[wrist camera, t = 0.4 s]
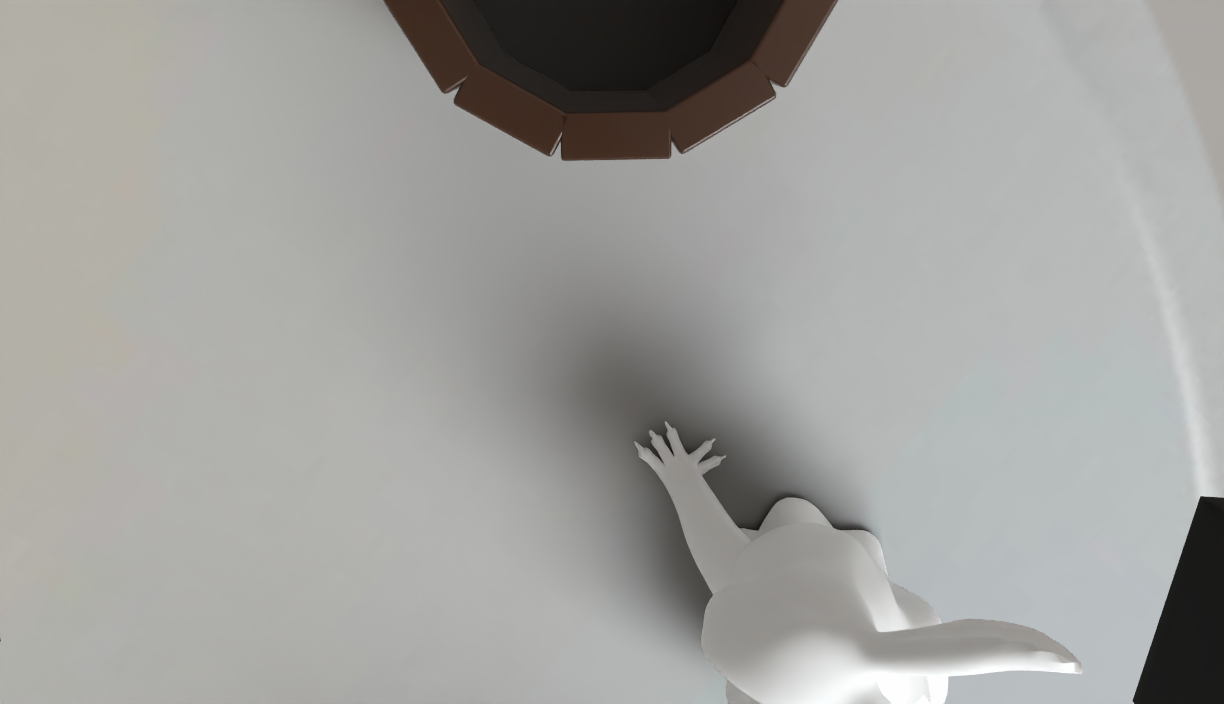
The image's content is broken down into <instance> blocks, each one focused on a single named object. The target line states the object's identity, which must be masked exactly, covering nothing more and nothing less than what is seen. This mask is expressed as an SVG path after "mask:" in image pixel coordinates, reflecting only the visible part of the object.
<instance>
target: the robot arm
mask: <svg viewBox="0 0 1224 704" xmlns="http://www.w3.org/2000/svg"><path fill="white" fill-rule="evenodd" d="M0 641H1V640H0ZM1133 702H1134V703H1135V704H1224V498H1217V497H1202V496H1200V499H1199V503H1198V506H1197V509H1196V512H1195V515H1194V518H1193V521H1192V524H1191V527H1190V530H1189V533H1188V536H1187V539H1186V542H1185V545H1184V548H1183V551H1182V554H1181V557H1180V560H1179V563H1178V566H1177V569H1176V572H1175V575H1174V578H1173V581H1172V584H1171V587H1170V590H1169V593H1168V596H1167V599H1166V602H1165V605H1164V608H1163V611H1162V614H1161V617H1160V620H1159V623H1158V626H1157V629H1156V632H1155V635H1154V638H1153V641H1152V644H1151V647H1150V650H1149V653H1148V656H1147V659H1146V662H1145V665H1144V668H1143V671H1142V674H1141V677H1140V680H1139V683H1138V686H1137V689H1136V692H1135V695H1134V698H1133Z"/></svg>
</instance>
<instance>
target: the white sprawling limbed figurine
mask: <svg viewBox="0 0 1224 704" xmlns="http://www.w3.org/2000/svg"><path fill="white" fill-rule="evenodd" d="M664 423H665V426H666V428H667V429H668V431H667V437H668V439H669V441H670V444H671V447H672V450H673V453H674V456H673V454H672V453H671V451H670V450H669V448H668V447H667V445H666V444H665V442H664V440H663V438H662V436H661V435H656V434H655V433H654V432H653V431H652V430H650V431H649V433H650V436H651V438H652V440H651V443H652V445H653V446H654V447H655V448H656V450H657V451H658V453H659V455H660V457H661V459H662V460H663V462H664V463H663V462H662V461H661V460H660V459H659V458H658V457H656V456H655V455H654V454H653V453H652V452H651V450H650V449H648V448H647V447H645V448H643V447H642V446H641V445H640V444H639V443H637V442H635V445H636V447H637V449H638V451H639V453H638V454H639V457H640V458H641V459H643V460H644V461H646V462H647V463H648V464H649V465H650V466H651V467H652V469H653V470H654V471H655V472H656V473H657V474H658V476H659V477H660V479H661V480H662V482H663V483H664V485H665V487H666V488H667V490H668V492H669V494H670V496H671V498H672V500H673V503H674V505H675V508H676V510H677V513H678V516H679V519H680V522H681V526H682V529H683V532H684V535H685V538H686V541H687V544H688V546H689V549H690V551H691V553H692V556H693V558H694V560H695V562H696V564H697V566H698V568H699V570H700V572H701V574H702V576H703V577H704V579H705V581H706V583H707V585H708V587H709V588H710V590H711V592H712V594H713V596H712V597H711V599H710V600H709V602H708V604H707V607H706V610H705V615H704V622H703V630H702V635H701V647H702V650H703V652H704V654H705V656H706V657H707V659H708V661H709V662H710V663H711V664H712V665H713V666H714V667H715V668H716V669H717V670H718V671H719V672H720V673H721V674H722V675H723V676H724V677H725V678H726V679H727V684H726V697H727V701H728V704H944V702H945V699H946V696H947V689H948V677H949V676H960V675H973V674H982V673H991V672H1000V671H1010V670H1034V671H1049V672H1059V673H1083V670H1082V665H1081V662H1080V661H1079V660H1078V659H1077V658H1076V657H1075V656H1074V655H1073V654H1072V653H1071V652H1070V651H1069V650H1067V649H1066V648H1065V647H1064V646H1063V645H1061V644H1060V643H1059V642H1057V641H1055V640H1053V639H1052V638H1050V637H1048V636H1047V635H1045V634H1044V633H1042V632H1040V631H1037V630H1035V629H1033V628H1029V627H1026V626H1023V625H1018V624H1013V623H1008V622H1002V621H994V620H983V619H964V620H957V621H952V622H948V623H943V624H942V623H941V621H940V619H939V616H938V615H937V613H936V612H935V610H934V609H933V608H932V606H931V605H930V604H929V603H928V602H926V601H925V600H924V599H922V598H921V597H919V596H917V595H916V594H914V593H912V592H910V591H909V590H907V589H905V588H903V587H901V586H899V585H897V584H895V583H894V582H892V581H891V580H890V578H889V575H888V573H887V569H886V564H885V560H884V556H883V552H882V548H881V545H880V543H879V541H878V539H877V538H876V537H875V536H874V535H872V534H871V533H870V532H868V531H863V530H837V529H835V528H833V527H832V525H831V524H830V523H829V522H828V520H827V519H826V518H825V516H824V515H823V514H822V513H821V512H820V511H819V510H818V509H817V508H816V507H815V506H814V505H813V504H811V503H810V502H808V501H806V500H804V499H799V498H789V497H788V498H785V499H782V500H780V501H778V502H777V503H776V504H775V505H774V506H773V508H772V509H771V510H770V512H769V513H768V515H767V516H766V518H765V519H764V521H763V523H762V525H761V527H760V529H759V530H758V531H755V530H750V529H744V528H738V527H737V525H736V524H735V523H734V522H733V520H732V519H731V518H730V516H729V515H728V514H727V512H726V511H725V509H724V508H723V507H722V505H721V504H720V502H719V501H718V499H717V498H716V496H715V495H714V493H713V492H712V490H711V489H710V487H709V486H708V484H707V483H706V481H705V480H704V478H703V477H702V476H703V475H704V474H705V473H706V472H707V471H709V470H710V469H712V468H714V467H716V466H718V465H719V464H720V462H721V460H723V459H724V458H726V455H725V456H721V457H718V456H713V457H711V458H709V459H707V460H705V461H701V462H699V461H700V460H701V458H702V457H703V456H704V455H705V454H706V453H707V452H708V451H710V449H711V448H712V443H713V442H714V441H715V439H716V438H714V439H712V440H710V441H705V442H704V443H703V444H702V445H701V446H700V447H699V448H698V449H697V450H695V451H694V452H692V453H691V454H687V453H686V452H685V450H684V448H683V445H682V443H681V441H680V439H679V437H678V433H677V430H676V429H675V428H671V427H670V425H669V424H668V423H667V422H666V421H665V422H664Z"/></svg>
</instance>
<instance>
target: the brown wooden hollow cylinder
mask: <svg viewBox="0 0 1224 704" xmlns="http://www.w3.org/2000/svg"><path fill="white" fill-rule="evenodd" d="M383 1H384V3H385V4H386V6H387V7H388V9H389V10H390V12H391V14H392V15H393V17H394V18H395V20H396V21H397V23H398V25H399V26H400V28H401V29H402V31H403V32H404V34H405V35H406V37H407V39H408V40H409V42H410V43H411V45H412V46H413V48H414V50H415V51H416V53H417V54H418V56H419V57H420V59H421V60H422V62H423V64H424V65H425V67H426V68H427V70H428V71H429V73H430V75H431V76H432V78H433V79H434V81H435V82H436V84H437V86H438V87H439V89H440V90H441V92H443V93H444V94H446V93H449V92H451V91H453V90H455V89H458V88H459V90H458V92H457V94H456V96H455V98H454V104H455V105H456V106H458V107H460V108H461V109H463V110H465V111H467V112H469V113H471V114H472V115H474V116H476V117H478V118H480V119H481V120H483V121H485V122H487V123H489V124H490V125H492V126H494V127H496V128H498V129H500V130H501V131H503V132H505V133H507V134H509V135H510V136H512V137H514V138H516V139H518V140H519V141H521V142H523V143H525V144H527V145H528V146H530V147H532V148H534V149H536V150H538V151H539V152H541V153H543V154H545V155H547V156H552V155H553V154H554V152H555V150H556V148H557V147H558V145H559V143H560V141H561V158H562V160H564V161H578V160H628V159H669V158H670V157H671V142H672V143H673V144H674V146H675V147H676V149H677V150H678V151H679V152H680V153H681V154H684V153H686V152H688V151H689V150H691V149H693V148H694V147H696V146H698V145H699V144H701V143H703V142H704V141H706V140H708V139H709V138H711V137H713V136H714V135H716V134H718V133H719V132H721V131H723V130H724V129H726V128H728V127H729V126H731V125H733V124H734V123H736V122H738V121H739V120H741V119H743V118H744V117H746V116H747V115H749V114H751V113H752V112H754V111H756V110H757V109H759V108H761V107H762V106H764V105H766V104H767V103H769V102H771V101H772V100H774V99H775V98H776V92H775V91H774V89H773V87H772V85H771V84H774V85H777V86H780V87H786V86H788V84H789V83H790V81H791V79H792V78H793V76H794V74H795V73H796V71H797V69H798V68H799V66H800V64H801V62H802V61H803V59H804V57H805V56H806V54H807V52H808V51H809V49H810V47H811V46H812V44H813V42H814V40H815V39H816V37H817V35H818V34H819V32H820V30H821V29H822V27H823V25H824V24H825V22H826V20H827V18H828V17H829V15H830V13H831V12H832V10H833V8H834V7H835V5H836V3H837V2H838V0H738V1H737V3H736V5H735V7H734V9H733V10H732V12H731V14H730V16H729V18H728V19H727V21H726V23H725V25H724V26H723V28H722V30H721V32H720V34H719V35H718V37H717V39H716V41H715V43H714V44H713V46H712V48H711V50H710V51H708V52H707V53H705V54H704V55H702V56H700V57H699V58H697V59H696V60H694V61H692V62H691V63H689V64H687V65H686V66H684V67H683V68H681V69H679V70H678V71H676V72H675V73H673V74H671V75H670V76H668V77H666V78H665V79H663V80H662V81H660V82H658V83H657V84H655V85H654V86H652V87H650V88H649V89H647V90H635V91H581V92H571V91H570V90H568V89H566V88H564V87H563V86H561V85H559V84H557V83H556V82H554V81H552V80H550V79H549V78H547V77H545V76H543V75H542V74H540V73H538V72H536V71H535V70H533V69H531V68H529V67H528V66H526V65H524V64H522V63H521V62H519V61H517V60H515V59H514V58H512V57H510V56H508V55H506V54H505V52H504V50H503V49H502V47H501V45H500V44H499V42H498V40H497V39H496V37H495V35H494V34H493V32H492V31H491V29H490V27H489V26H488V24H487V22H486V21H485V19H484V17H483V16H482V14H481V12H480V11H479V9H478V8H477V6H476V4H475V3H474V1H473V0H383Z"/></svg>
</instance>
